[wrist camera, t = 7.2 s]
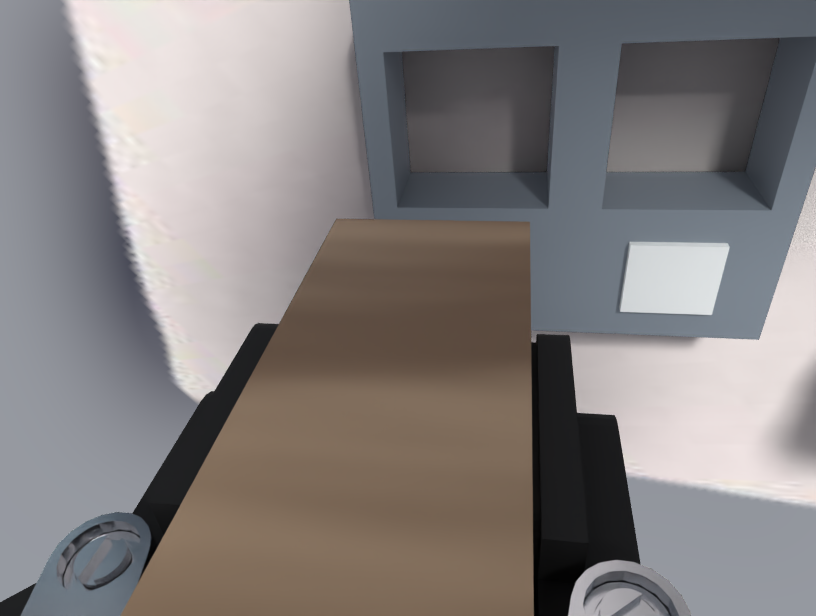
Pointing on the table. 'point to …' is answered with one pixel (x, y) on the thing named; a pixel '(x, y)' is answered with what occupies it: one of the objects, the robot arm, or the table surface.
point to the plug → (373, 441)
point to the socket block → (588, 155)
